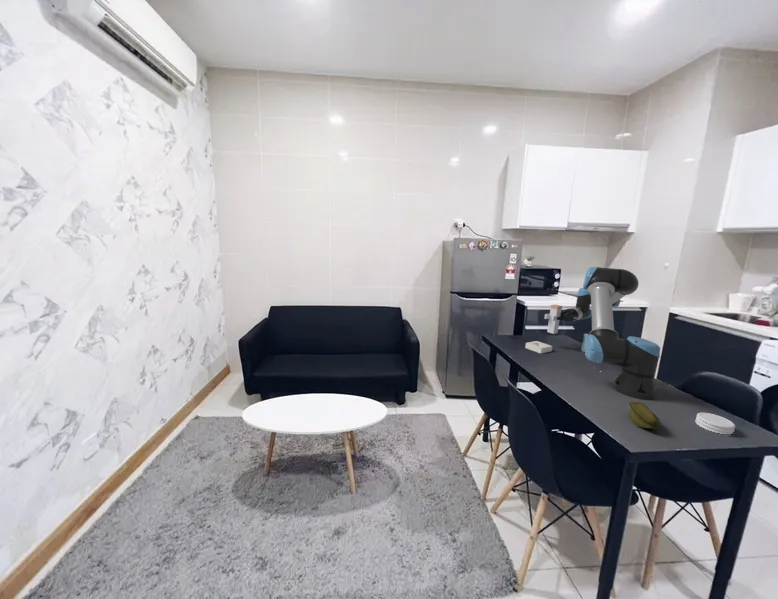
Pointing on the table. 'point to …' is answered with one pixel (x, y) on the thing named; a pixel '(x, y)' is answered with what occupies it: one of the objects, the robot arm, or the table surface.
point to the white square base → (538, 347)
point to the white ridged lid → (715, 423)
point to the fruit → (643, 416)
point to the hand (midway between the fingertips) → (549, 317)
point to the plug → (554, 324)
